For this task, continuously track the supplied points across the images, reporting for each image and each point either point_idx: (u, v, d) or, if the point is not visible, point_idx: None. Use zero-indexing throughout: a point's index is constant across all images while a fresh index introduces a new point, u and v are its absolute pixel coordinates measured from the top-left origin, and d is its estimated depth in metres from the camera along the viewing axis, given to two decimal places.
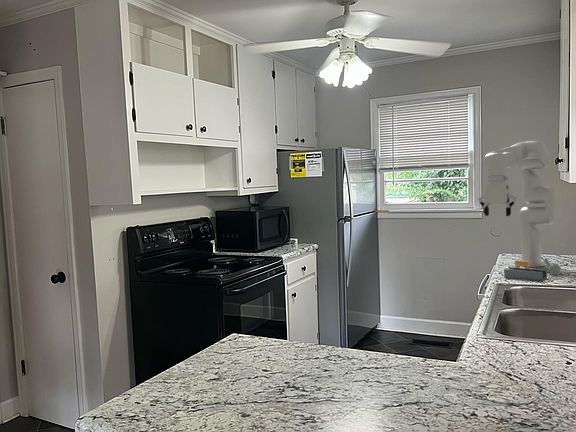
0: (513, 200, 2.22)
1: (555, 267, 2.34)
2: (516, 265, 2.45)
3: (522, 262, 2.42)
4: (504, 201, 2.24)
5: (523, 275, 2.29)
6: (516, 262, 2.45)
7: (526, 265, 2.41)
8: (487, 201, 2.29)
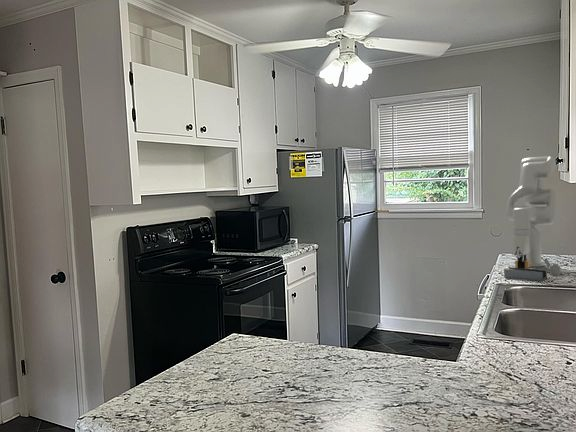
0: None
1: (555, 267, 2.34)
2: (516, 265, 2.45)
3: None
4: (529, 251, 2.45)
5: (523, 275, 2.29)
6: (516, 262, 2.45)
7: (526, 265, 2.41)
8: (523, 253, 2.39)
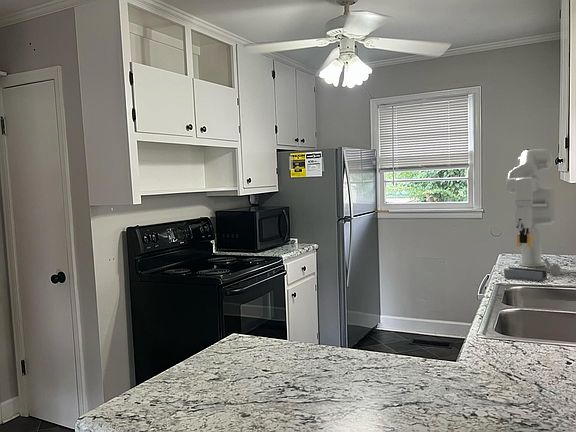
0: (529, 227, 2.33)
1: (555, 267, 2.34)
2: (518, 238, 2.31)
3: None
4: (531, 224, 2.31)
5: (523, 275, 2.29)
6: (518, 235, 2.31)
7: (529, 238, 2.28)
8: (525, 226, 2.26)
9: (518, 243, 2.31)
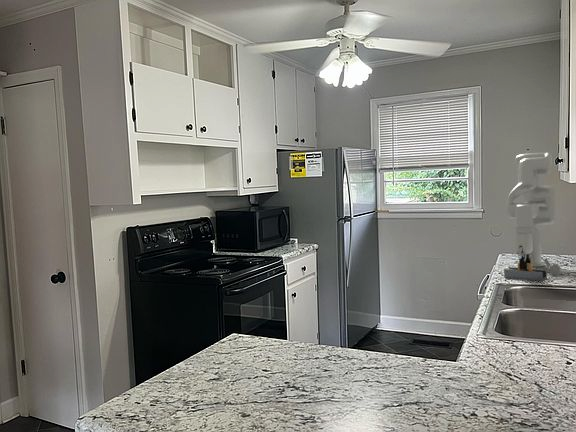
0: (530, 252, 2.35)
1: (555, 267, 2.34)
2: None
3: None
4: (532, 250, 2.32)
5: (523, 275, 2.29)
6: None
7: (529, 268, 2.29)
8: (526, 252, 2.27)
9: None
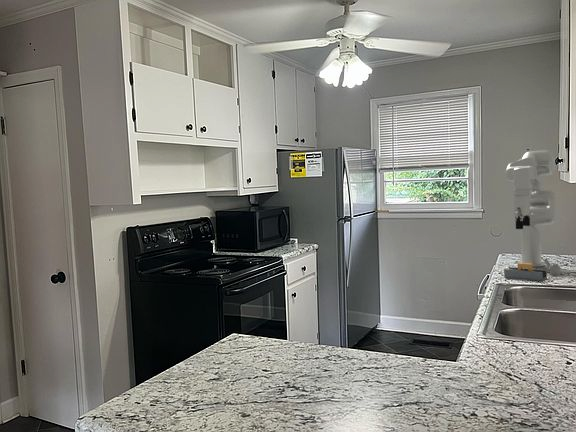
0: None
1: (555, 267, 2.34)
2: (519, 268, 2.32)
3: (525, 265, 2.30)
4: (529, 212, 2.39)
5: (523, 275, 2.29)
6: (519, 265, 2.32)
7: (529, 268, 2.29)
8: (524, 214, 2.33)
9: None
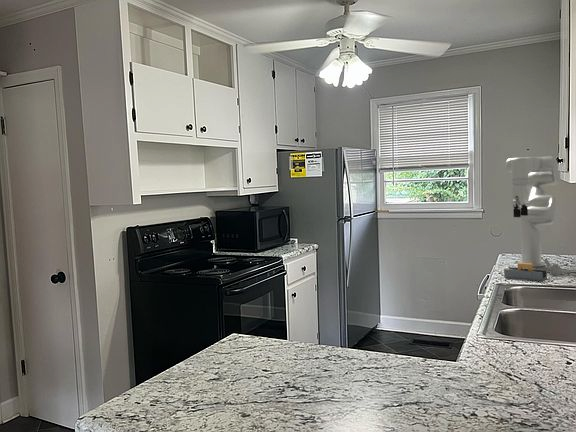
0: None
1: (555, 267, 2.34)
2: (519, 268, 2.32)
3: (525, 265, 2.30)
4: (527, 202, 2.45)
5: (523, 275, 2.29)
6: (519, 265, 2.32)
7: (529, 268, 2.29)
8: (522, 203, 2.40)
9: None
